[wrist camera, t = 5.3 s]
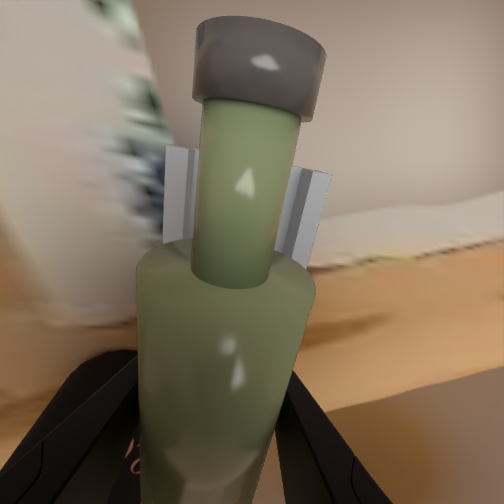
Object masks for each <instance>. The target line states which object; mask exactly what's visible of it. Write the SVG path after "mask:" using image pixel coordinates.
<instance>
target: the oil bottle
mask: <svg viewBox="0 0 504 504" xmlns="http://www.w3.org/2000/svg"><path fill="white" fill-rule="evenodd" d="M325 61H326V52H325V50H324V48H323V47H322V46H321V45H320V44H319V43H318V42H317V41H316V40H315V39H313V38H312V37H310V36H309V35H307V34H305V33H303V32H301V31H299V30H297V29H294V28H292V27H290V26H287V25H284V24H281V23H277V22H273V21H270V20H265V19H260V18H253V17H246V16H245V17H244V16H221V17H216V18H211V19H208V20H205V21H204V22H202V23H200V24H199V25H198V27H197V29H196V42H195V58H194V76H193V92H192V98H193V99H194V100H195V101H197V102H199V103H202V118H201V132H200V144H199V145H200V146H199V158H198V171H197V185H196V198H195V212H194V225H193V238H187V239H180V240H176V241H172V242H168V243H165V244H162V245H160V246H158V247H156V248H154V249H152V250H150V251H149V252H147V253H146V254H145V255H144V256H143V257H142V258H141V260H140V261H139V263H138V265H137V268H136V289H137V340H138V391H139V442H140V493H141V504H252V502H253V499H254V495H255V492H256V489H257V485H258V482H259V479H260V475H261V472H262V469H263V466H264V462H265V459H266V456H267V453H268V449H269V446H270V443H271V439H272V436H273V433H274V430H275V426H276V423H277V420H278V416H279V413H280V410H281V406H282V403H283V400H284V397H285V393H286V390H287V387H288V383H289V380H290V377H291V374H292V370H293V367H294V364H295V360H296V357H297V354H298V351H299V347H300V344H301V341H302V337H303V334H304V331H305V328H306V324H307V321H308V318H309V314H310V311H311V308H312V305H313V301H314V298H315V295H316V287H315V283H314V280H313V278H312V277H311V275H310V274H309V272H308V271H307V270H306V269H305V268H304V267H303V266H301V265H300V264H299V263H298V262H296V261H295V260H293V259H292V258H290V257H288V256H287V255H285V254H283V253H281V252H278V251H276V250H274V248H275V244H276V239H277V234H278V229H279V225H280V220H281V215H282V211H283V206H284V201H285V196H286V192H287V187H288V182H289V178H290V173H291V168H292V163H293V159H294V154H295V149H296V144H297V140H298V135H299V130H300V126H301V122H310V121H312V119H313V114H314V110H315V105H316V101H317V96H318V92H319V88H320V83H321V79H322V74H323V70H324V66H325Z"/></svg>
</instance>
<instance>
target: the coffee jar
mask: <svg viewBox="0 0 504 504" xmlns="http://www.w3.org/2000/svg"><path fill="white" fill-rule="evenodd" d="M137 355H138V352H136V351H125V350H122V351H115V352H108V353H105V354H103V355H100V356H98V357H95V358H93V359H91V360H89V361H86V362H84V363H83V364H81V365H80V366H79V367H78V368H77V369H76V370H75V371H74V372H72V373H71V374H70V375H69V377H68V378H67V379H66V381H65V382H64V384H63V385H62V386H61V388H60V389H59V390H58V392H57V393H56V395H55V396H54V397H53V399H52V400H51V401H50V403H49V404H48V406H47V407H46V408H45V410H44V411H43V413H42V414H41V415H40V417H39V418H38V419H37V421H36V422H35V424H34V425H33V426H32V428H31V429H30V430H29V432H28V433H27V435H26V436H25V437H24V439H23V440H22V441H21V443H20V444H19V446H18V447H17V448H16V450H15V451H14V452H13V454H12V455H11V457H10V458H9V459H8V461H7V462H6V464H5V465H4V466H3V468H2V469H1V470H0V476H1V475H2V474H3V473H4V472H5V471H7V470H8V469H9V468H10V467H11V466H12V465H14V464H15V463H16V462H17V461H18V460H19V459H21V458H22V457H23V456H24V455H25V454H26V453H28V452H29V451H30V450H31V449H32V448H33V447H34V446H35V445H37V444H38V443H39V442H40V441H43V439H44V438H45V437H46V436H47V435H48V434H49V433H50V432H51V431H53V430H54V429H55V428H56V427H57V426H58V425H59V424H60V423H62V422H63V421H64V420H65V419H66V418H67V417H68V416H69V415H71V414H72V413H73V412H74V411H75V410H76V409H77V408H79V407H80V406H81V405H82V404H83V403H84V402H85V401H86V400H88V399H89V398H90V397H91V396H92V395H93V394H94V393H95V392H97V391H98V390H99V389H100V388H101V387H102V386H103V385H104V384H106V383H107V382H108V381H109V380H110V379H111V378H112V377H113V376H115V375H116V374H117V373H118V372H119V371H120V370H121V369H123V368H124V367H125V366H126V365H127V364H128V363H129V362H130V361H132V360H133V359H134V358H135V357H136V356H137ZM106 504H141V493H140V442H139V424H138V426H137V429H136V431H135V434H134V436H133V439H132V441H131V444H130V446H129V449H128V451H127V454H126V456H125V459H124V461H123V463H122V466H121V468H120V471H119V473H118V476H117V478H116V481H115V483H114V486H113V488H112V490H111V493H110V495H109V498H108V500H107V503H106Z"/></svg>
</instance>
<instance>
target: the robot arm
mask: <svg viewBox="0 0 504 504" xmlns="http://www.w3.org/2000/svg"><path fill="white" fill-rule="evenodd" d="M138 424H139V391H138V355H137V356H136V357H135V358H134V359H133V360H132V361H130V362H129V363H128V364H127V365H126V366H125V367H124V368H123V369H121V370H120V371H119V372H118V373H117V374H116V375H115V376H113V377H112V378H111V379H110V380H109V381H108V382H107V383H106V384H104V385H103V386H102V387H101V388H100V389H99V390H98V391H97V392H95V393H94V394H93V395H92V396H91V397H90V398H89V399H88V400H86V401H85V402H84V403H83V404H82V405H81V406H80V407H79V408H77V409H76V410H75V411H74V412H73V413H72V414H71V415H69V416H68V417H67V418H66V419H65V420H64V421H63V422H62V423H60V424H59V425H58V426H57V427H56V428H55V429H54V430H53V431H51V432H50V433H49V434H48V435H47V436H46V437H45V438H44V439H43V441H40V442H39V443H38V444H37V445H35V446H34V447H33V448H32V449H31V450H30V451H29V452H28V453H26V454H25V455H24V456H23V457H22V458H21V459H19V460H18V461H17V462H16V463H15V464H14V465H12V466H11V467H10V468H9V469H8V470H7V471H5V472H4V473H3V474H2V475H1V476H0V504H106V503H107V500H108V498H109V495H110V493H111V490H112V488H113V486H114V483H115V481H116V478H117V476H118V473H119V471H120V468H121V466H122V463H123V461H124V459H125V456H126V454H127V451H128V449H129V446H130V444H131V441H132V439H133V436H134V434H135V431H136V429H137V426H138ZM275 434H276V442H277V449H278V455H279V462H280V469H281V475H282V482H283V489H284V495H285V502H286V504H393V503H392V502H391V501H390V499H389V498H388V497H387V496H386V495H385V493H384V492H383V491H382V490H381V488H380V487H379V486H378V484H377V483H376V482H375V480H374V479H373V478H372V477H371V475H370V474H369V473H368V472H367V470H366V469H365V467H364V466H363V465H362V463H361V462H360V461H359V459H358V458H357V457H356V456H354V453H353V451H352V450H351V449H350V447H349V446H348V444H347V443H346V442H345V440H344V439H343V438H342V436H341V435H340V433H339V432H338V431H337V430H336V428H335V427H334V425H333V424H332V423H331V421H330V420H329V419H328V417H327V416H326V414H325V413H324V412H323V410H322V409H321V408H320V406H319V405H318V403H317V402H316V401H315V399H314V398H313V397H312V395H311V394H310V393H309V391H308V390H307V388H306V387H305V386H304V384H303V383H302V382H301V380H300V379H299V378H298V376H297V375H296V373H295V372H294V371H293V370H292V374H291V377H290V380H289V383H288V387H287V390H286V393H285V397H284V400H283V403H282V406H281V410H280V413H279V416H278V420H277V423H276V426H275Z"/></svg>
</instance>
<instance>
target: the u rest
mask: <svg viewBox="0 0 504 504" xmlns="http://www.w3.org/2000/svg"><path fill="white" fill-rule="evenodd" d="M198 158H199V149H195V148H189V147H184V146H178V145H166V160H165V187H164V214H163V241H162V244H165V243H168V242H172V241H176V240H180V239H187V238H193V225H194V212H195V198H196V185H197V171H198ZM331 178H332V175H331V174H328V173H324V172H321V171H317V170H311V169H306V168H301V167H295V166H292V168H291V173H290V178H289V182H288V187H287V192H286V196H285V201H284V206H283V211H282V215H281V220H280V225H279V229H278V234H277V239H276V244H275V248H274V250H276V251H278V252H281V253H283V254H285V255H287V256H288V257H290V258H292V259H293V260H295V261H296V262H298V263H299V264H300V265H301V266H303V267H304V268H305V269H306V268H307V264H308V261H309V257H310V253H311V250H312V246H313V243H314V239H315V235H316V232H317V228H318V225H319V221H320V218H321V214H322V210H323V207H324V203H325V199H326V196H327V192H328V189H329V185H330V182H331Z"/></svg>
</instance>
